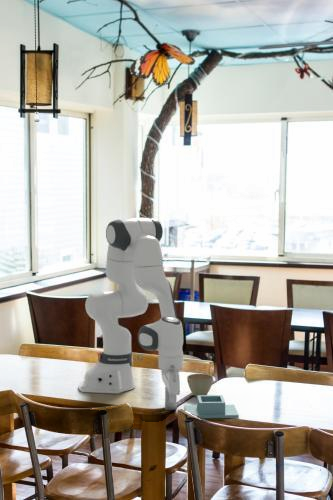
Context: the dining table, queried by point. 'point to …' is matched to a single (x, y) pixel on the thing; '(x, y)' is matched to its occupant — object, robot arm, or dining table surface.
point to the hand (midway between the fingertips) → (170, 400)
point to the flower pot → (199, 383)
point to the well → (212, 407)
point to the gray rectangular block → (169, 404)
